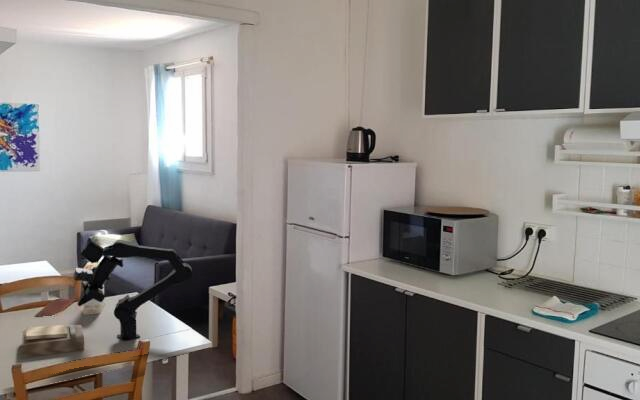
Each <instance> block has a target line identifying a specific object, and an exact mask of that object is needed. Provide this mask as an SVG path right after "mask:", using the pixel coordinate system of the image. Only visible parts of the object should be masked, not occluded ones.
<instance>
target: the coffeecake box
mask: <svg viewBox="0 0 640 400" xmlns="http://www.w3.org/2000/svg"><path fill="white" fill-rule="evenodd" d="M100 262H101V261H98V263H91V262H89V261H88V262H86V264H85V266H84V267H83V269H88V270H92V268H93V267H97V266H98V264H99V263H100ZM82 283H85V281H82ZM99 290H101V289H99ZM101 291H103V294H104V295H105V284H104V285H103V289H102V290H101ZM82 306H83V315H95V314H96V315H97V314H99V315H100V314H101V313H102V310H103V308H104V306H105V299H104V300H103V301H102V302H99V301H97V300H95V299H92V300H90V301H88V302H87V303H85V304H83V305H82Z"/></svg>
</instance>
